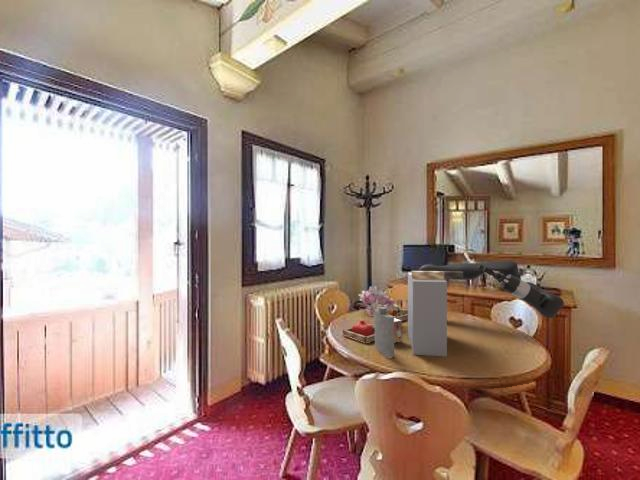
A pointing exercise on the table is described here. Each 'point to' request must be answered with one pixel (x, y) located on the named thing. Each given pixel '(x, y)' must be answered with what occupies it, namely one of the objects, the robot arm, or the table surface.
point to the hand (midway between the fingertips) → (481, 267)
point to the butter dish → (363, 329)
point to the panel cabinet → (427, 316)
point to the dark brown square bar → (437, 274)
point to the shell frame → (402, 317)
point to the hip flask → (384, 332)
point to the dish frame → (359, 337)
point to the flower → (380, 298)
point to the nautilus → (393, 311)
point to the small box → (397, 330)
